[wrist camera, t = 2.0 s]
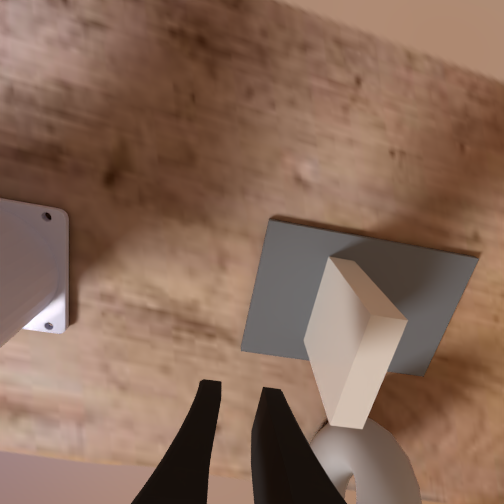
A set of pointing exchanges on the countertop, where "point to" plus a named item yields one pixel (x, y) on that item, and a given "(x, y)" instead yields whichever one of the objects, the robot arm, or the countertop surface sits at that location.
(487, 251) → the countertop surface
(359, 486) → the donut
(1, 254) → the robot arm
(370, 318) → the tile
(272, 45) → the countertop surface
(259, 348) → the mat
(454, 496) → the countertop surface
